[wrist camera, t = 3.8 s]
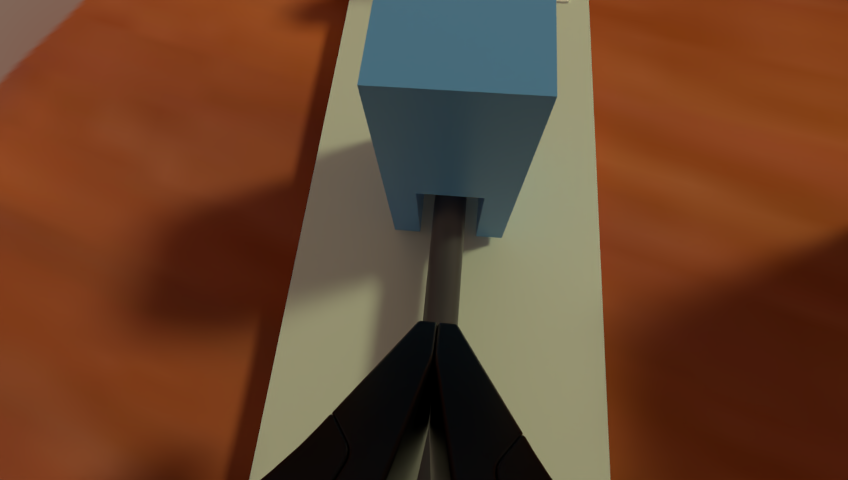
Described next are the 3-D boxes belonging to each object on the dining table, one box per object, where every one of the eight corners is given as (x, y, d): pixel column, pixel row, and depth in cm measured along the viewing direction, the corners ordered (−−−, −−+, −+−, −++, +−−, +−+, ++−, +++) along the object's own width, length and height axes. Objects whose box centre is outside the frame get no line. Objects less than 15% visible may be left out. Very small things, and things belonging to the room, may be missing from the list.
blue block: (501, 238, 17) (557, 96, 9) (395, 229, 17) (356, 85, 9) (505, 129, 18) (555, -71, 11) (408, 123, 19) (386, -76, 11)
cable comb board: (602, 591, 14) (716, 728, 8) (248, 545, 15) (125, 640, 9) (578, -58, 24) (621, -200, 19) (370, -65, 25) (350, -204, 19)
